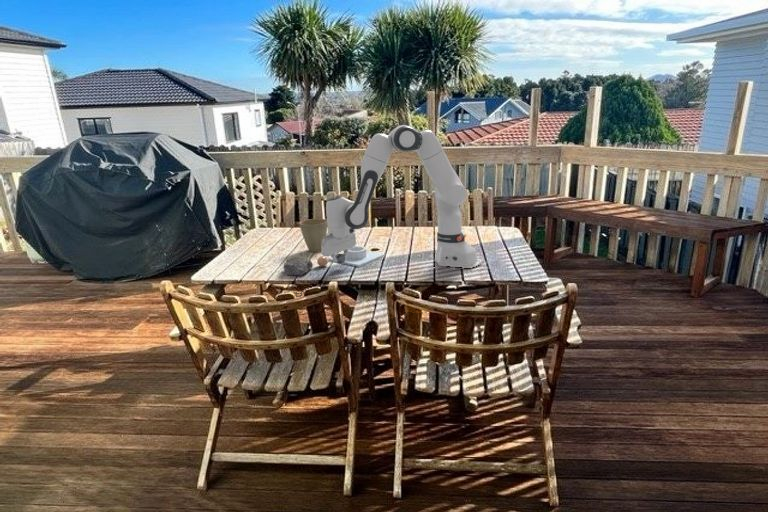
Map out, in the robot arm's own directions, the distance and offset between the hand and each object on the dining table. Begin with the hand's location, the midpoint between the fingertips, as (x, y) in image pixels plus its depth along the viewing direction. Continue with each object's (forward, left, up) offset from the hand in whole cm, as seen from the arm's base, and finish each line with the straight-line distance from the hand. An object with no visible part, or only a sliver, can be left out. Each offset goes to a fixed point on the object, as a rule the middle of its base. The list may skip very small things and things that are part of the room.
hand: (340, 260), depth 210 cm
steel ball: (0, 0, +1) cm, 1 cm away
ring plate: (+4, -17, -4) cm, 18 cm away
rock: (+15, +13, -5) cm, 21 cm away
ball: (+10, +1, -2) cm, 11 cm away
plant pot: (+33, -17, -4) cm, 38 cm away
